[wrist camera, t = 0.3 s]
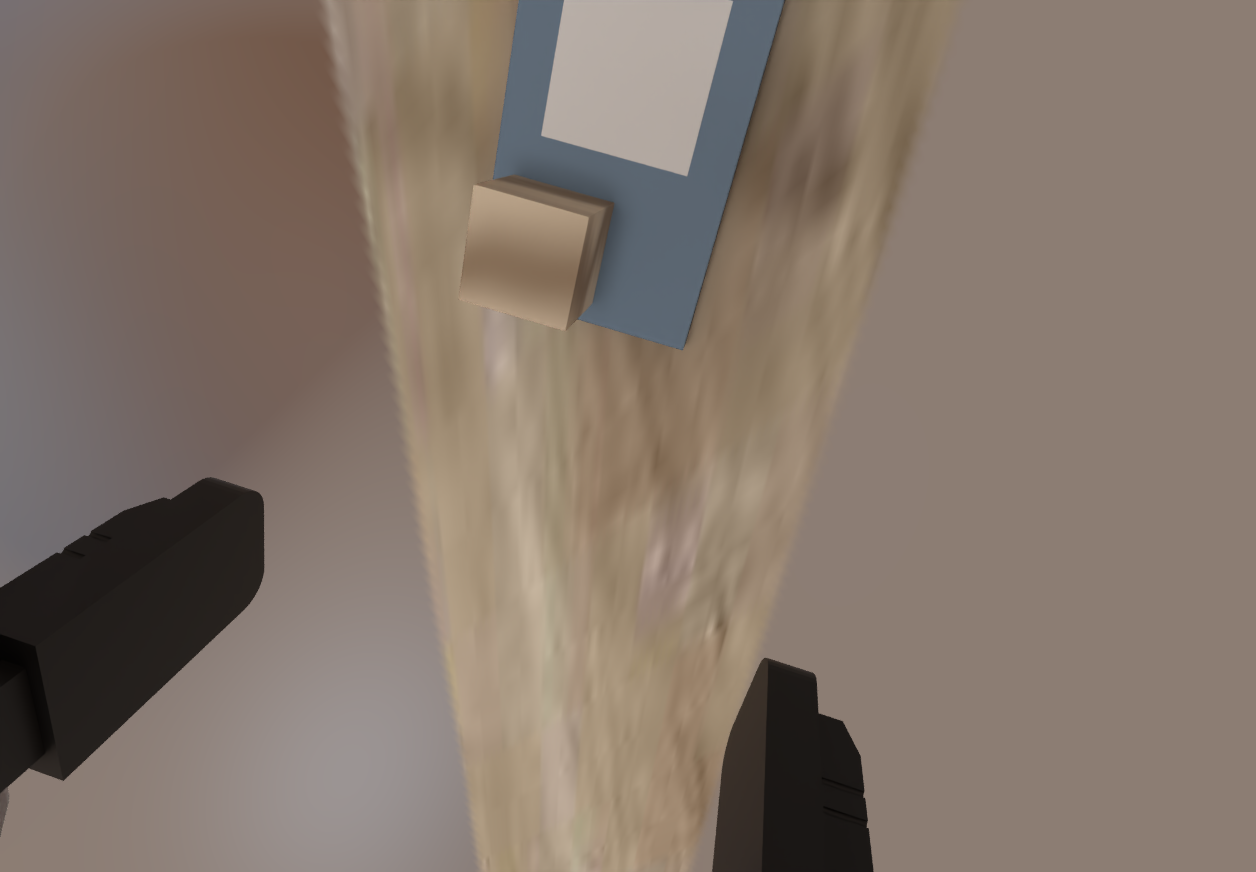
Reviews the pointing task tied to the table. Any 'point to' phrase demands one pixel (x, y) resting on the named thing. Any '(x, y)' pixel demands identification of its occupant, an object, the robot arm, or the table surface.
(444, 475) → the table surface
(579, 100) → the board
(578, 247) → the maple block
